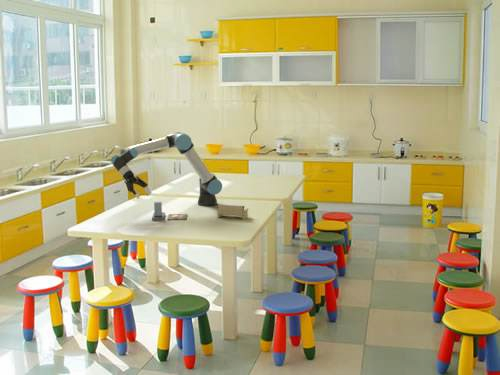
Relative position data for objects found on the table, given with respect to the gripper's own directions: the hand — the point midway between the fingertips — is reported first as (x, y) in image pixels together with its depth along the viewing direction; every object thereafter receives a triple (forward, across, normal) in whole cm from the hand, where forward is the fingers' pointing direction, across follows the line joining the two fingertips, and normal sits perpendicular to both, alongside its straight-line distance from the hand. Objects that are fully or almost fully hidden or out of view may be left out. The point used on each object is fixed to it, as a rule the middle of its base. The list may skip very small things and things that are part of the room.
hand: (144, 195), depth 454 cm
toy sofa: (+50, -28, +27) cm, 64 cm away
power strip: (+18, -4, -6) cm, 19 cm away
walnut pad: (+26, -10, +3) cm, 28 cm away
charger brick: (+18, -1, -4) cm, 19 cm away
